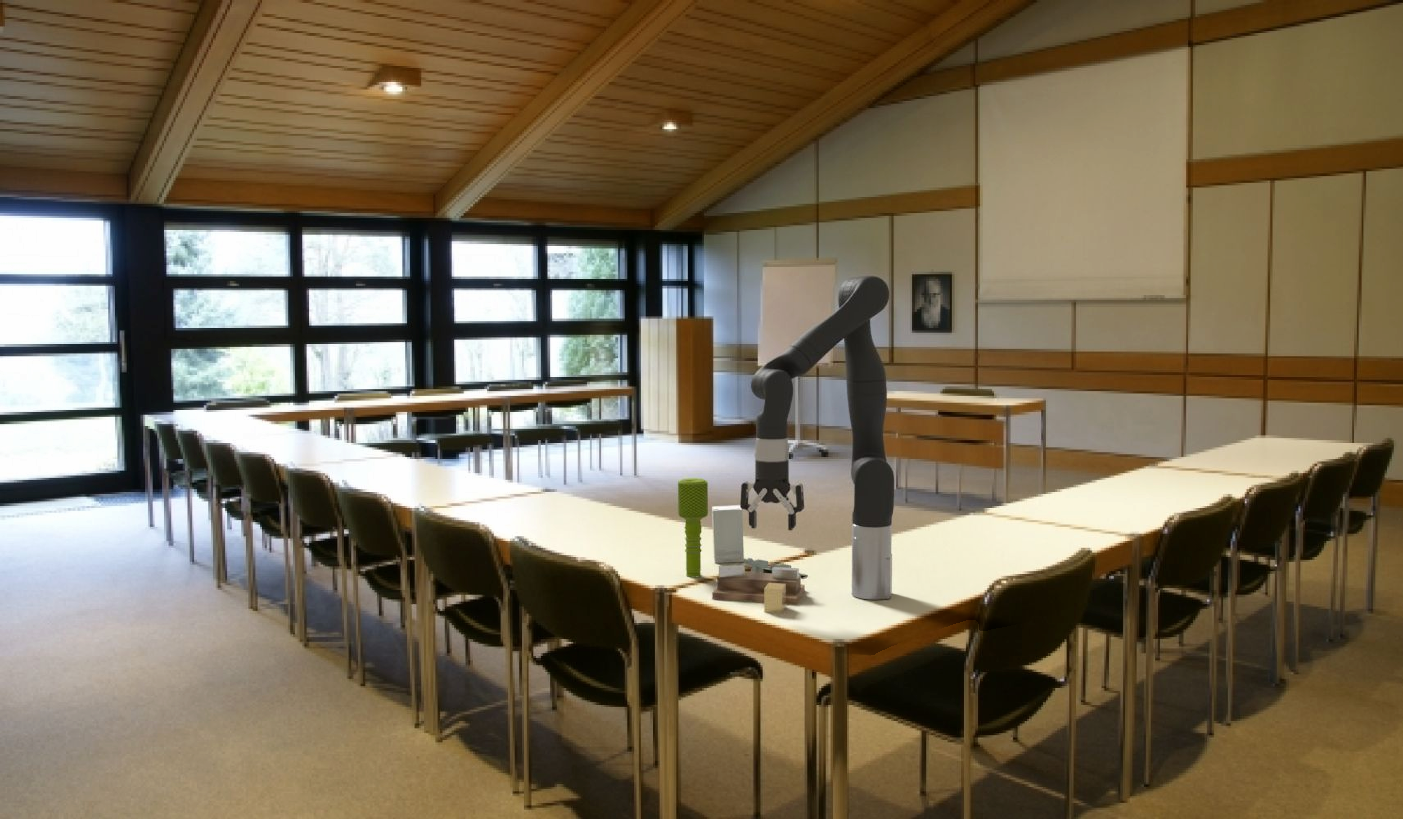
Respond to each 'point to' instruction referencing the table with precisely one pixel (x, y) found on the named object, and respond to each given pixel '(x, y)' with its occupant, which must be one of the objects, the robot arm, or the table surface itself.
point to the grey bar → (776, 572)
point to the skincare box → (728, 534)
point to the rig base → (753, 596)
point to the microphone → (693, 519)
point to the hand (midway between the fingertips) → (772, 528)
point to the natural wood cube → (775, 597)
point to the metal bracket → (764, 565)
